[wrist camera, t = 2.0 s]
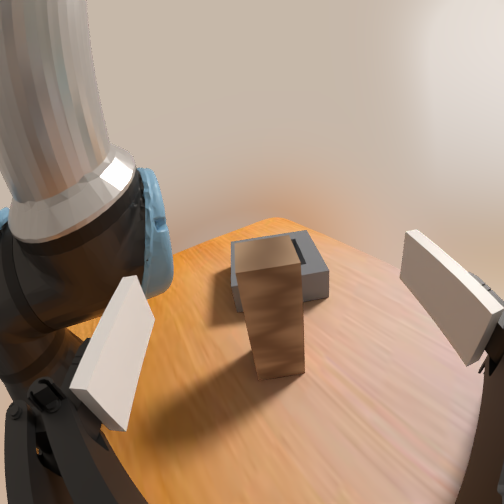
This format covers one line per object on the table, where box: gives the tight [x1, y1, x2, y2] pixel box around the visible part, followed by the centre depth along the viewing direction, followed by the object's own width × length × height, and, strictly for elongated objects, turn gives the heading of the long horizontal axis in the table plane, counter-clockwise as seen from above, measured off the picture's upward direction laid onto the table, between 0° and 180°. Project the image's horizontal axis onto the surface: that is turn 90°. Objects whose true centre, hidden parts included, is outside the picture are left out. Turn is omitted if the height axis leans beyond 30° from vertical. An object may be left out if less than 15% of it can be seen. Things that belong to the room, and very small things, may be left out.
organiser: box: [231, 230, 329, 312], centre depth 43 cm, size 13×13×4 cm
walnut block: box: [235, 235, 305, 380], centre depth 27 cm, size 5×5×14 cm
